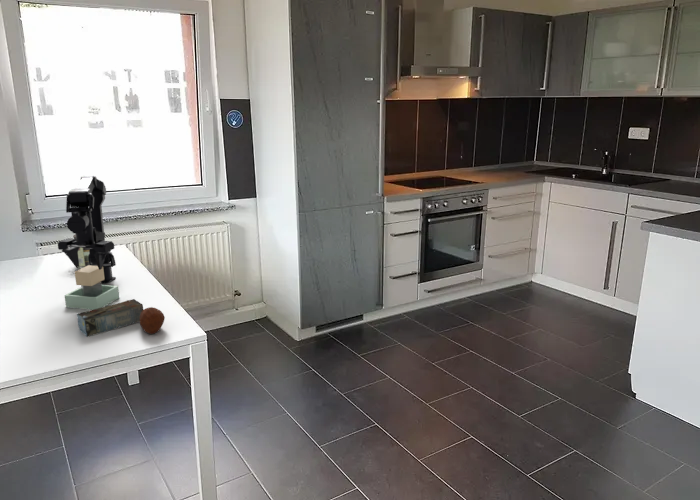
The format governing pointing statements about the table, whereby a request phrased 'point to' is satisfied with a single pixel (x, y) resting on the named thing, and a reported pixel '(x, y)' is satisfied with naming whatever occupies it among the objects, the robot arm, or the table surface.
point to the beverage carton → (109, 317)
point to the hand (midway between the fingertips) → (89, 268)
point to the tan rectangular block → (89, 275)
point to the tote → (92, 298)
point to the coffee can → (83, 256)
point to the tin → (92, 290)
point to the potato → (151, 320)
